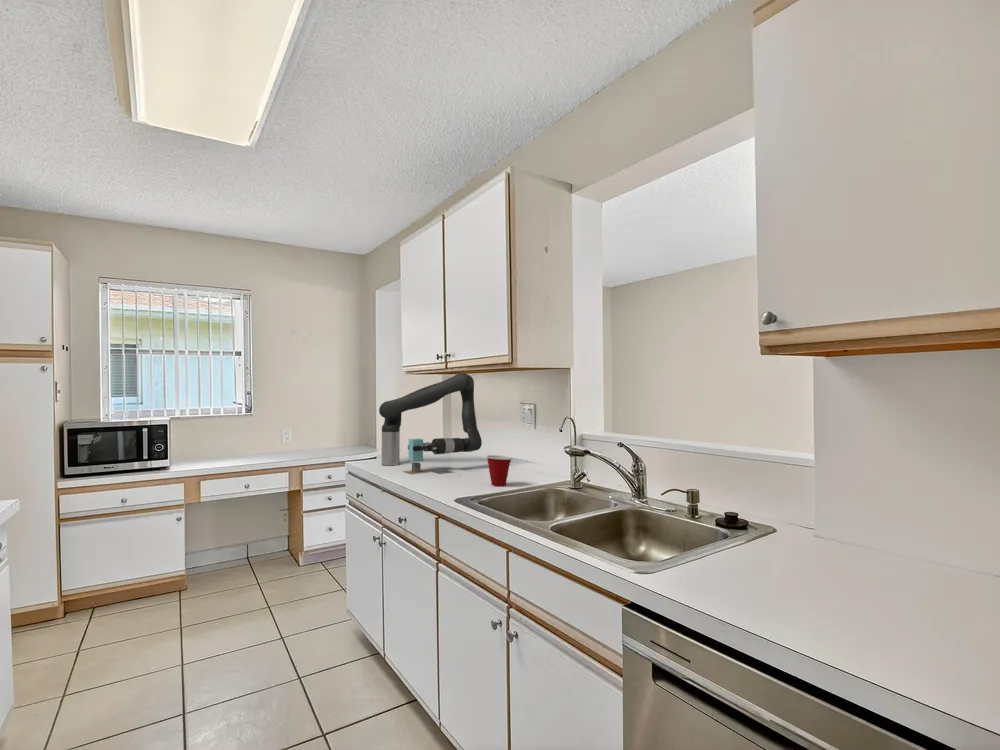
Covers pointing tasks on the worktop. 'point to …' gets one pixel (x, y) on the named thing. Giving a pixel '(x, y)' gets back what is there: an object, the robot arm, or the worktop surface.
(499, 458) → the plastic cup
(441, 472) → the coaster mat
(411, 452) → the teal block
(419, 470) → the walnut base
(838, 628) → the worktop surface
